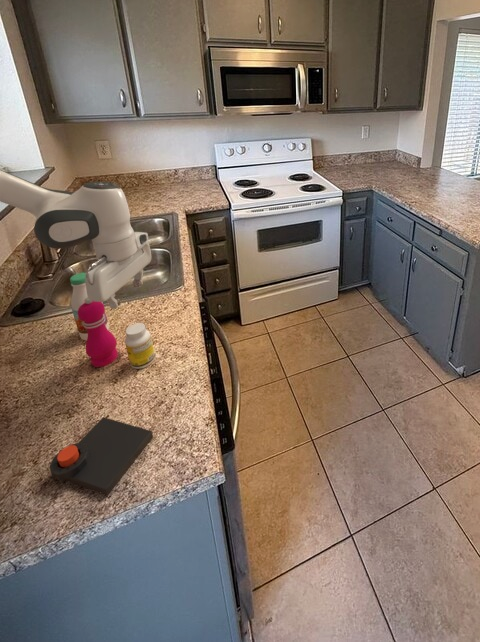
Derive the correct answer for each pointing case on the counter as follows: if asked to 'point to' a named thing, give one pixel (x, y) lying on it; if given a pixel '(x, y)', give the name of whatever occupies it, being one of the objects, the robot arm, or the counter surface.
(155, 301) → the counter surface
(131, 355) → the pill bottle
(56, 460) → the black kitchen scale
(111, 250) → the robot arm
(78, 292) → the milk bottle
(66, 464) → the button
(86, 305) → the pepper mill
